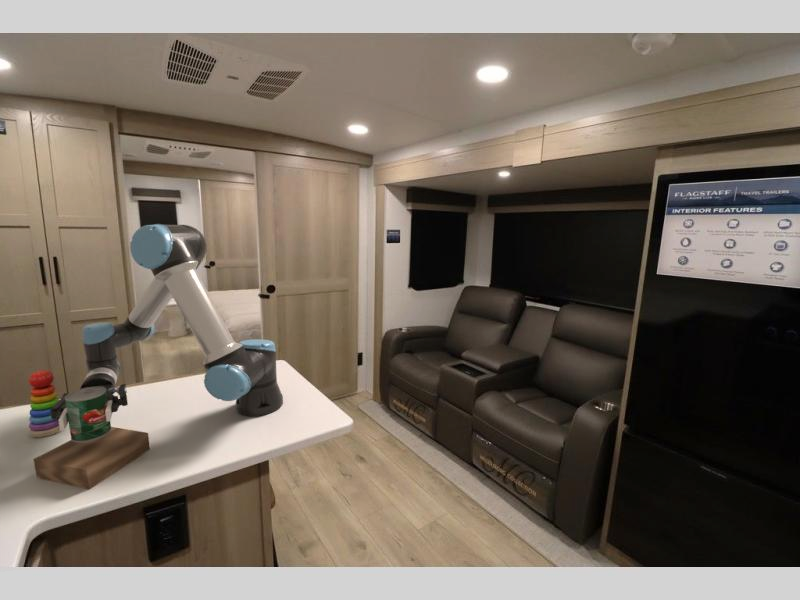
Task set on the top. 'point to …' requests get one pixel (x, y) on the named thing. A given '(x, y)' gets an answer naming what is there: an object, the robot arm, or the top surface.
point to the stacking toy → (42, 405)
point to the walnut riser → (91, 458)
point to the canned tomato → (87, 414)
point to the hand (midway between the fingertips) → (85, 420)
